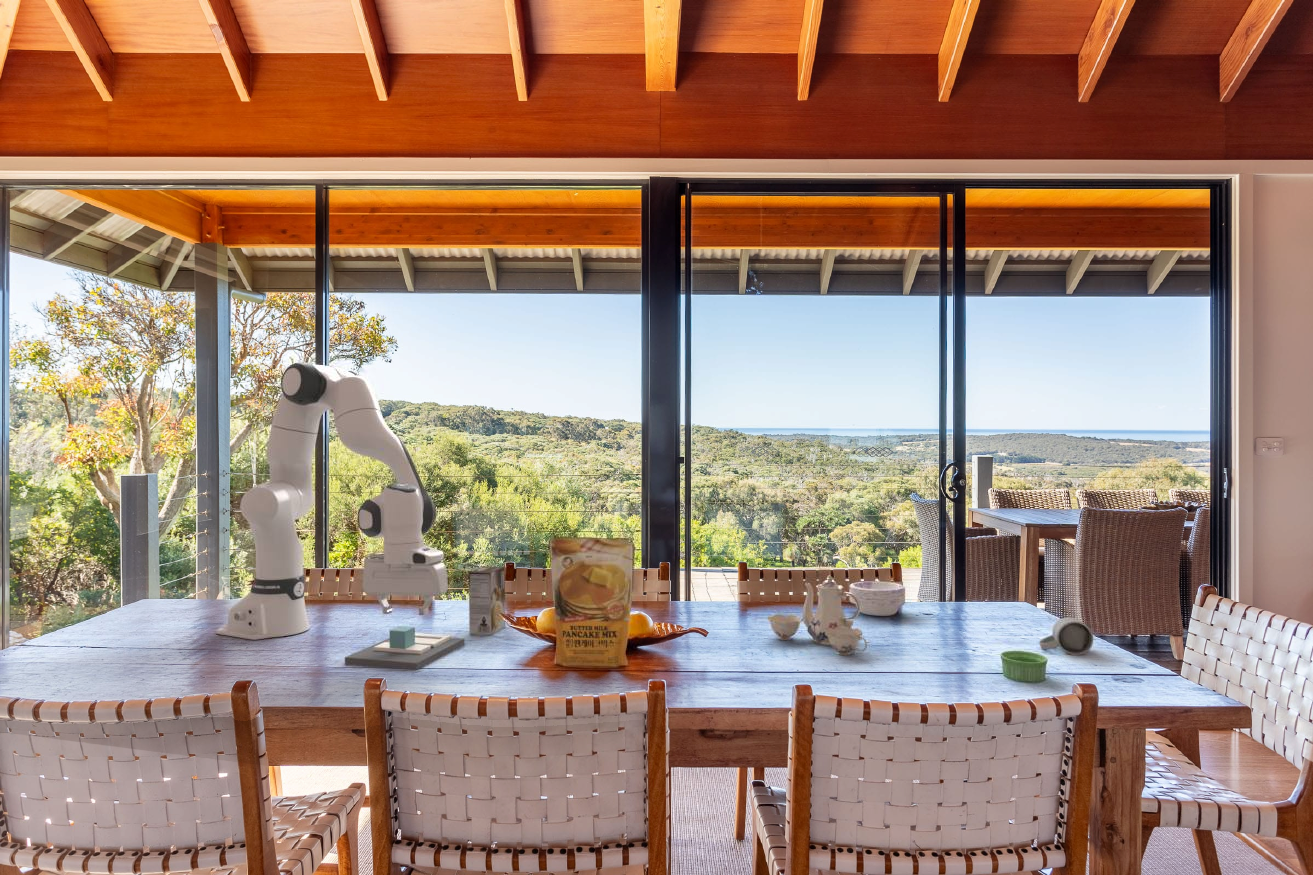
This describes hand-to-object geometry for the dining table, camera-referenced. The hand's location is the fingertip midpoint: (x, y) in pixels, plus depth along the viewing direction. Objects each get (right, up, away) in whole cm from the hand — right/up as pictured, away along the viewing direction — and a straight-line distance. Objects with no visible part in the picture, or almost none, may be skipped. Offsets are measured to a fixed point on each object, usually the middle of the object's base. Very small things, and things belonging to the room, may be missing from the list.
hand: (405, 614), depth 181 cm
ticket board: (0, -10, +2) cm, 10 cm away
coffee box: (+14, -10, +23) cm, 29 cm away
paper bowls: (+120, -9, +42) cm, 128 cm away
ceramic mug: (+154, -10, +4) cm, 154 cm away
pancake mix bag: (+43, -10, -6) cm, 45 cm away
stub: (-1, -8, 0) cm, 8 cm away
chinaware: (+98, -10, +11) cm, 99 cm away
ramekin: (+135, -10, -16) cm, 136 cm away
